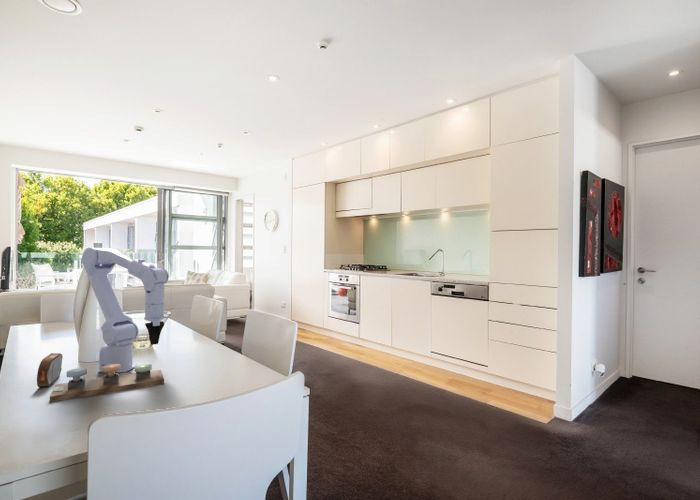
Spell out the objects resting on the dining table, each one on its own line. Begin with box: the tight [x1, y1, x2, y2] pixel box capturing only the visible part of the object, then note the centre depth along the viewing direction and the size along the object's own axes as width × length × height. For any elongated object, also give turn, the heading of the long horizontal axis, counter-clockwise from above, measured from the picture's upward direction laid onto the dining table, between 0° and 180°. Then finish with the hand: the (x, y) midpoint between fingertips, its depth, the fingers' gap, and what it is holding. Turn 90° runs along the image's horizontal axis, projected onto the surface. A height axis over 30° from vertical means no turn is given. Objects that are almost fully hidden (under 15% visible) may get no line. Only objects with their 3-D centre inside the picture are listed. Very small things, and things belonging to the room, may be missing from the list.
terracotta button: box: [101, 364, 121, 377], centre depth 114 cm, size 5×5×3 cm
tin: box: [36, 352, 63, 388], centre depth 117 cm, size 15×3×8 cm, turn 23°
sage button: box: [133, 363, 153, 373], centre depth 118 cm, size 5×5×3 cm
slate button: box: [65, 367, 88, 382], centre depth 109 cm, size 5×5×3 cm
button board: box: [49, 369, 165, 403], centre depth 114 cm, size 28×11×3 cm, turn 122°
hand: (154, 344), depth 127 cm, fingers closed
